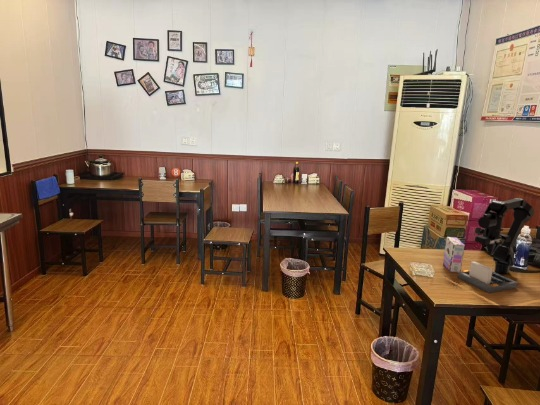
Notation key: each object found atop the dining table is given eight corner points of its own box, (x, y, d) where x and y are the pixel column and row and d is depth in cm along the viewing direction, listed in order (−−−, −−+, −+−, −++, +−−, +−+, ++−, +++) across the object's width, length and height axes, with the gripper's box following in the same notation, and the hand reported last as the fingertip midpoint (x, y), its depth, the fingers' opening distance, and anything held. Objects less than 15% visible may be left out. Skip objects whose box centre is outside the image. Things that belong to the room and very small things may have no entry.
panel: (471, 279, 185) (474, 261, 183) (489, 288, 176) (492, 269, 174) (468, 280, 184) (471, 261, 182) (485, 288, 175) (489, 269, 173)
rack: (484, 275, 194) (485, 267, 193) (516, 289, 177) (518, 281, 176) (457, 279, 187) (458, 271, 186) (488, 295, 171) (489, 286, 170)
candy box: (460, 274, 194) (465, 245, 190) (449, 273, 195) (453, 244, 191) (453, 264, 207) (457, 237, 203) (442, 263, 208) (446, 236, 204)
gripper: (494, 220, 194) (489, 247, 198) (467, 222, 188) (463, 251, 191) (513, 226, 184) (508, 255, 187) (486, 228, 178) (481, 258, 181)
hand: (489, 254), depth 187 cm, fingers closed
